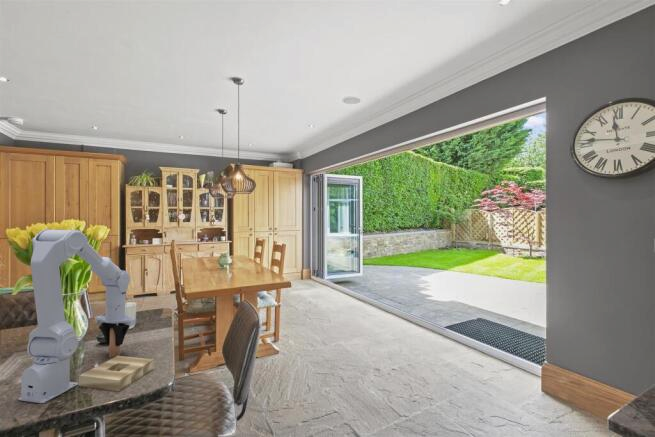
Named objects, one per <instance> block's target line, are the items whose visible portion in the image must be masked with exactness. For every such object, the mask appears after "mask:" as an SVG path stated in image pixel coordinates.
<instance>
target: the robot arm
mask: <svg viewBox="0 0 655 437" xmlns="http://www.w3.org/2000/svg"><path fill="white" fill-rule="evenodd" d="M31 242H32V250H33V251H32V255H31V259H30V270H31V271H30V272H31V278H32V279H31V280H32V287H33V295H34V305H35V311H36V320H37V327H35V328H34V329H33V330H32V331H30V332H29V333H28V334H29V335H28V338H29V339H28V343H27V347H26V352H27V354H28V356H31V357H32V362H33V361H34V363H32V365H31V366H29V367H28V368H25V369H24V371H22V374H21V378H20V380H21V381H20V397H18V401H23V402H30V403H37V404H45V403H47V402H49V401H50V400H52V399H54V398H56V397H58V396H60V395H62V394H63V393H65V392H68V391H69V390H71V389H73V388H75V387H76V386H79V382H74V381H71V357H72V356H73V355H74V353H75V352H76V350H77V348H78V346H79V337H78V335H77V334H76V332H75V327H73V326H72V324H70V323H69V322H68V321H66V316H65V307H64V297H63V290H62V289H63V288H62V282H61V281H62V280H61V272H60V267H61V265H62V263H64V262H66V261H67V260H69V259H70V258H71V257H73V256H74V255H76V256H78V257H79V258H81V259H82V260H84V261H85V262H86V263H87V264H89V265H90V268H89V269H90V271H91V272H92V273H93V274H94V275H96V276H97V277H99V279H100V283H101V286H103V287H105V307H104V308H105V309H104V310H105V312H104V315H105V316H103V315H99V316H95V317H94V323H95V324H99V323H100V324H101V323H103V324H102V325H101V326H100V325H99V326H98V329H99V331H100V330H101V331H102V333H103V335H104V337H105V340H106V343H107V345H110V329H111V328H113V330H114V333H115V344H116V346H120V347H121V345H123V344H124V340H125V338H126V337H125V336H126V334H127V333H128V331H129V329H128V328H129V327H130V326H132V325H136V324H137V318H131V317H127V315H125V305H126V303H127V302H126V301H127V300H126V299H127V296H126V295H127V294H126V293H127V291H128V288H129V284H130V282H131V277H130V274H129V272H128V271H126V270H123V269H122V270H121V269H120V267H119V266H118V265H116V264H115V263H114V262H113V261H112V258H111V257H107V256H101V255H100V254H99V253H98V252H97V250H95V249H94V247H93V246H92V245H91V244H90V243H89V241H88V236H87V235H85V234H84V233H83V231H81V230H79V229H50V228H45V229H42V230H40V231H39V232H38V233H37V234H36V235H35V236H34V237H33V238H32V239H31ZM117 324H118V325H117Z"/></svg>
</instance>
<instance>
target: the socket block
mask: <svg viewBox="0 0 655 437" xmlns="http://www.w3.org/2000/svg"><path fill="white" fill-rule="evenodd" d="M152 370H154V359H151V358H143V357H133V356H124V355H123V356H122V355H120V356H116V357H114V358H110V359H108V360H107V361H104V362H103V363H101V364H99V365H97V366H95V367H93V368H91V369H89V370H87V371H85V372H83V373H81V374H79V375H78V386H79V387H82V388H91V389H99V390H107V391H116V392H120V391H121V390H123V389H125V388H126V387H128V386H129V385H131V384H132V383H134V382H136V381H137V380H138V379H140V378H142V377H143V376H146V374H148V373H149V372H151V371H152Z"/></svg>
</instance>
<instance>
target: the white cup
mask: <svg viewBox="0 0 655 437" xmlns="http://www.w3.org/2000/svg"><path fill="white" fill-rule="evenodd" d="M137 305H138V303H137V302H133V301H131V302H130V301H128V302H126V305H125V315H127V317H131V318H135V319H137ZM117 325H118V324H117ZM135 325H136V324H135ZM135 325H132V326H130V327H129V328H128V330H130V329H133V328H135Z"/></svg>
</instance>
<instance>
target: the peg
mask: <svg viewBox="0 0 655 437" xmlns="http://www.w3.org/2000/svg"><path fill="white" fill-rule="evenodd" d="M108 347H109V349H108V350H109V352H108V353H109V356H108V357H109V358H110V359H112V358H114V357H116V356H121V345H120V346H116V344H115V333H114V330H113V328H111V329H110V345H109V346H108Z"/></svg>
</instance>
